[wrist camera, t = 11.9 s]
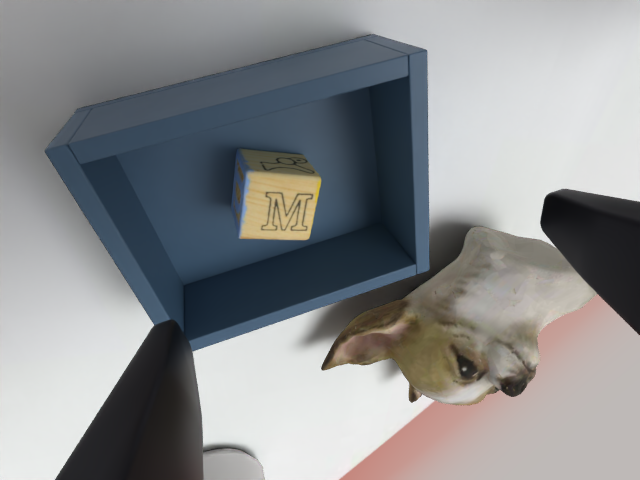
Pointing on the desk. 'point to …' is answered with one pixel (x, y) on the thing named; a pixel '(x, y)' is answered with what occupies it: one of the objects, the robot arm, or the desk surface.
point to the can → (231, 465)
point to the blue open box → (218, 175)
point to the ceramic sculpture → (470, 320)
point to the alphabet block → (274, 195)
